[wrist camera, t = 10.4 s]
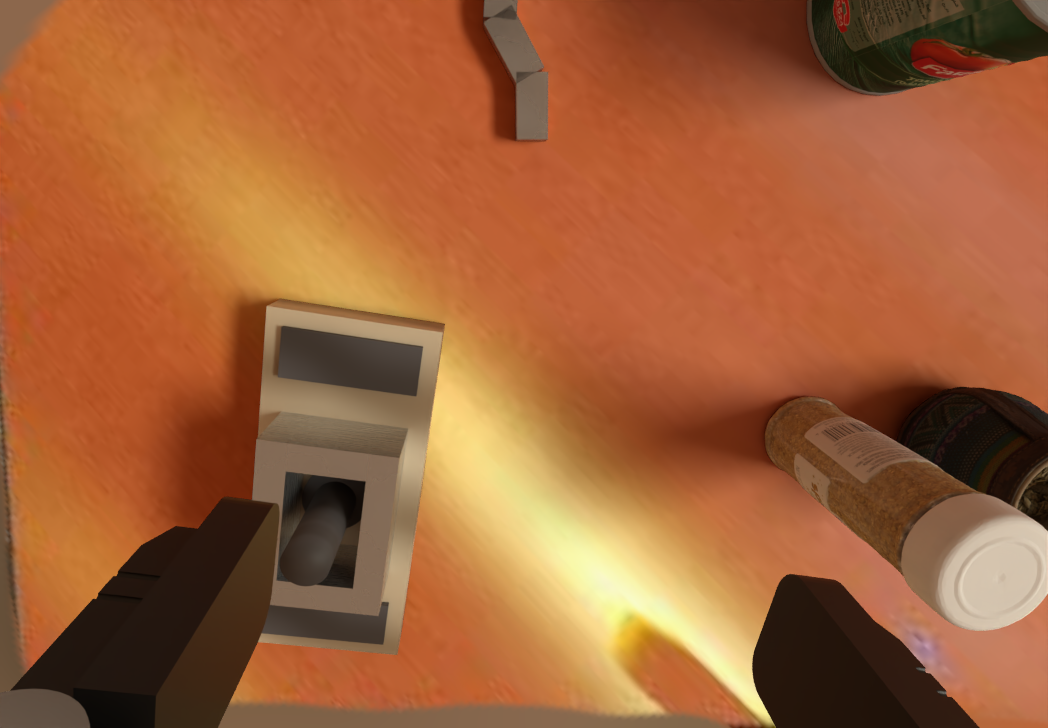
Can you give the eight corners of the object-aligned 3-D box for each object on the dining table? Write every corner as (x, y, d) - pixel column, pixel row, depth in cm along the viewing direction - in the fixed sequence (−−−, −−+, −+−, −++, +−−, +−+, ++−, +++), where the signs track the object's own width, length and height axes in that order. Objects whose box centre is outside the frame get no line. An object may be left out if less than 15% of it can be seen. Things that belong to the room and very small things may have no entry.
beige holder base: (280, 298, 30) (211, 334, 22) (444, 323, 31) (433, 366, 23) (257, 615, 35) (193, 736, 27) (401, 629, 36) (380, 750, 28)
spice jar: (751, 464, 34) (916, 628, 21) (776, 386, 33) (965, 509, 20) (828, 476, 35) (1034, 644, 22) (854, 400, 34) (1088, 529, 21)
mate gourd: (871, 389, 34) (1031, 466, 24) (1005, 359, 34) (1217, 423, 24) (877, 507, 36) (1028, 622, 26) (1003, 478, 36) (1200, 581, 26)
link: (281, 411, 30) (256, 439, 26) (408, 428, 30) (399, 458, 27) (270, 558, 32) (244, 602, 28) (388, 571, 32) (378, 616, 29)
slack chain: (450, -111, 26) (449, -123, 25) (502, -125, 26) (503, -137, 25) (512, 149, 29) (513, 148, 28) (559, 137, 29) (562, 135, 28)
